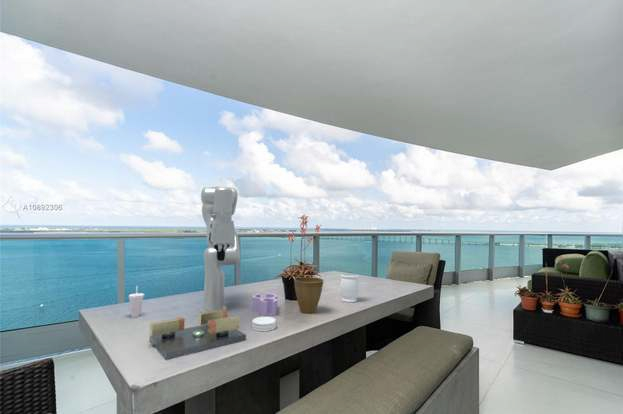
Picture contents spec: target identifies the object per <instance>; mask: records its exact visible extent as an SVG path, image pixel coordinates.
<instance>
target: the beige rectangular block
mask: <svg viewBox="0 0 623 414" xmlns="http://www.w3.org/2000/svg"><path fill="white" fill-rule="evenodd" d="M228 314H229V313H228V309H227V310H226V309H219V310H213V311H207V312H198V316H197V319H198V320H197V324H199V326H201V325H206V324H208V320H214V319H220V318H227V317H228Z"/></svg>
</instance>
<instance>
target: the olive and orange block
mask: <svg viewBox="0 0 623 414" xmlns="http://www.w3.org/2000/svg"><path fill="white" fill-rule="evenodd" d="M185 319H186V318H184V317H182V316H181V317H180V316H179V317H175V318H169V319H165V320H159V321H154V322H150V323H149V336H150V335H151V336H152V337H153V336H158V335H162V337H163V338H170V337H174V336H175V332H176V331H181V330H184V329H185V321H186V320H185Z"/></svg>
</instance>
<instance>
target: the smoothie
mask: <svg viewBox="0 0 623 414" xmlns="http://www.w3.org/2000/svg"><path fill="white" fill-rule="evenodd" d="M138 288H139V285H136V287H135V290H136V291H135V293H130V294H129V295H128V299H129V313H130V317H131V318H138V317H140V316H141V312H142V307H143V301H144V297H145V293H142V292H140V293H139V292H138Z"/></svg>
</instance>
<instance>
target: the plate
mask: <svg viewBox="0 0 623 414" xmlns="http://www.w3.org/2000/svg"><path fill="white" fill-rule="evenodd" d="M246 340H247V334H245V333H244V332H242V331H241V330H239V329H234V330H229V334H228V335H226V336H217V335H216V333H212V334H210V333H209V332H208V324H204V325H196V326H192V327H186V328H184V330H181V331H176V332H175V336H174V337H170V338H163V337H162V335H158V336H153V337H152V336H151V335H150V334H149V342H150V343H151V345H152V346H153V348H155V349H156V350H157V352H159V354H160V355H161V357H163V358H164V359H165V360H171V359H174V358H178V357H181V356H182V357H183V356H186V355H187V356H188V355H191V354H195V353H199V352H203V351H207V350H210V349H211V350H212V349H215V348H219V347H223V346H226V345H230V344H234V343H235V344H236V343H239V342H242V341H243V342H244V341H246Z"/></svg>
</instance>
